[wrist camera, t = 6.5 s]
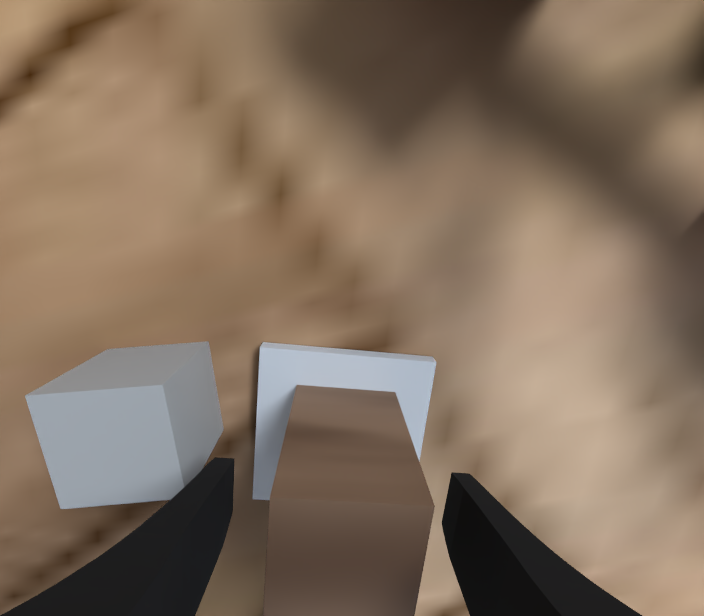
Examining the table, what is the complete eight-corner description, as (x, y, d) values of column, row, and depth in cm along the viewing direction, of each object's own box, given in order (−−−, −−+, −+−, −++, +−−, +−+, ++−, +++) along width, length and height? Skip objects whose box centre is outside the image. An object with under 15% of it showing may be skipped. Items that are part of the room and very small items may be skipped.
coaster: (408, 497, 17) (411, 508, 16) (255, 489, 16) (252, 499, 16) (432, 356, 15) (436, 362, 14) (262, 341, 14) (259, 347, 14)
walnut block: (383, 476, 16) (411, 630, 10) (290, 470, 15) (262, 625, 9) (395, 391, 15) (434, 506, 9) (296, 384, 14) (269, 497, 8)
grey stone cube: (224, 428, 15) (186, 498, 12) (130, 436, 15) (60, 509, 11) (209, 340, 14) (162, 384, 11) (109, 348, 14) (24, 395, 10)
